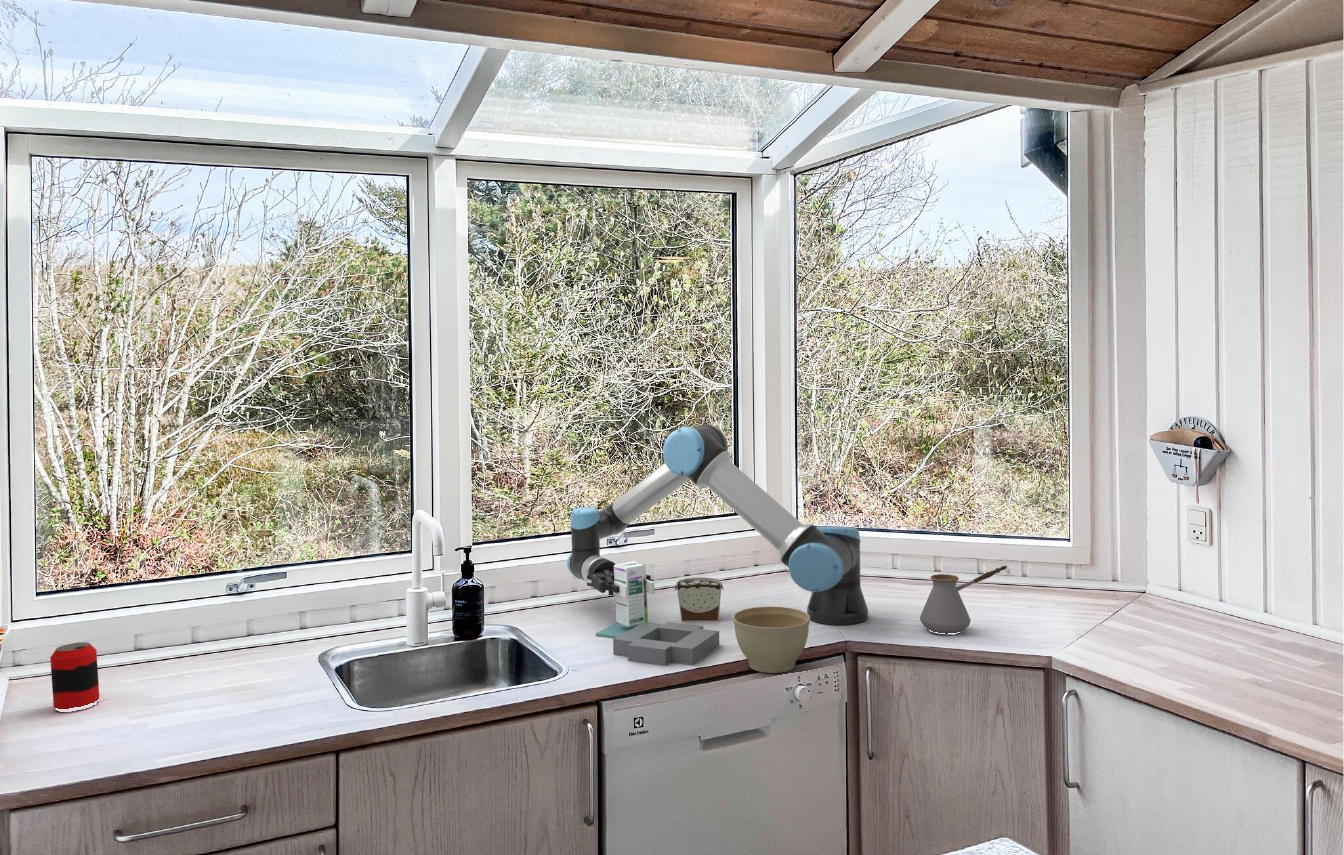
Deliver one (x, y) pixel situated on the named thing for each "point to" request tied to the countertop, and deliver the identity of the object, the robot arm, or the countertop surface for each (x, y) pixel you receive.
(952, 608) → the coffee pot
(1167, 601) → the countertop surface
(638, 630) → the frame
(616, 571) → the syrup box
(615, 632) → the service mat
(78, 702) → the soda can
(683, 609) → the food container
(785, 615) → the planter bowl
